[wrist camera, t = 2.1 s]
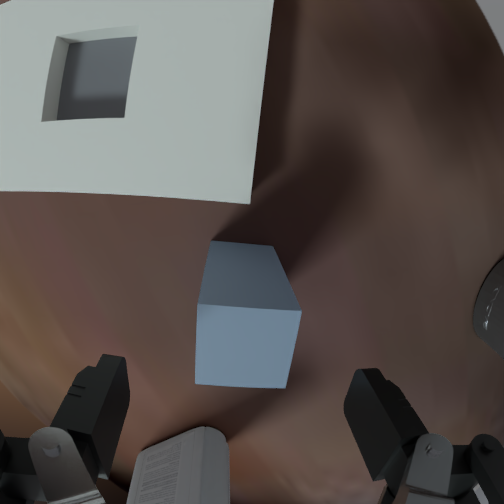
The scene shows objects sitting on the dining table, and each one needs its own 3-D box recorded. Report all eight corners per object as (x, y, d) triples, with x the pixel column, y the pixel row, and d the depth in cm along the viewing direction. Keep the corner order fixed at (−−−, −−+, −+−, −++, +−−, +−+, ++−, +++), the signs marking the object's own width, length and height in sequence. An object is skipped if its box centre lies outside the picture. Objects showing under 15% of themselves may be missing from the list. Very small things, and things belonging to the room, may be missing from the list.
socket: (270, -5, 16) (277, -26, 13) (247, 196, 20) (249, 204, 17) (15, 17, 14) (-5, 6, 11) (-10, 185, 18) (-34, 191, 15)
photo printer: (161, 470, 28) (149, 564, 16) (132, 451, 26) (109, 549, 15) (236, 440, 26) (242, 554, 14) (205, 417, 25) (200, 541, 13)
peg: (272, 246, 21) (301, 311, 12) (265, 301, 22) (285, 388, 13) (210, 240, 20) (197, 303, 12) (206, 297, 22) (195, 383, 13)
